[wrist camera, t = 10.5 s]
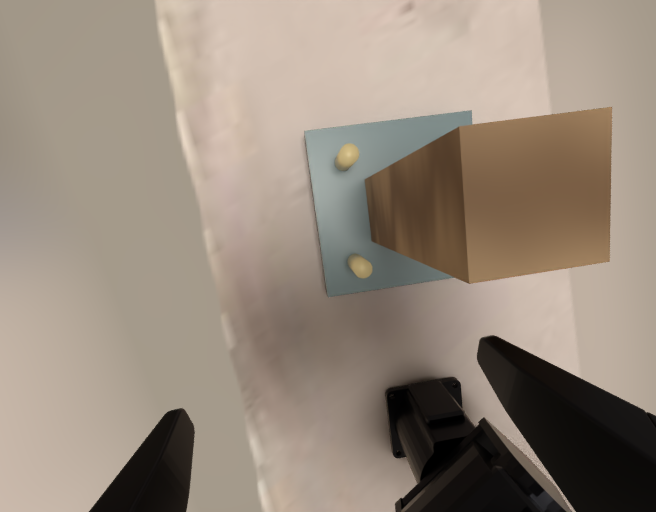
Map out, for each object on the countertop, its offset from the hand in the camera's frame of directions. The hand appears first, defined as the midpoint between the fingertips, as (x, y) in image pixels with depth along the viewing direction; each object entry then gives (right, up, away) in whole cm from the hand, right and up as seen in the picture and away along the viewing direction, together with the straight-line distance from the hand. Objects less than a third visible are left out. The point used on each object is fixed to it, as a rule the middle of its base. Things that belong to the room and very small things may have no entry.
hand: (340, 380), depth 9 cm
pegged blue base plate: (+5, +8, +14) cm, 17 cm away
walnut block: (+5, +7, +13) cm, 15 cm away
